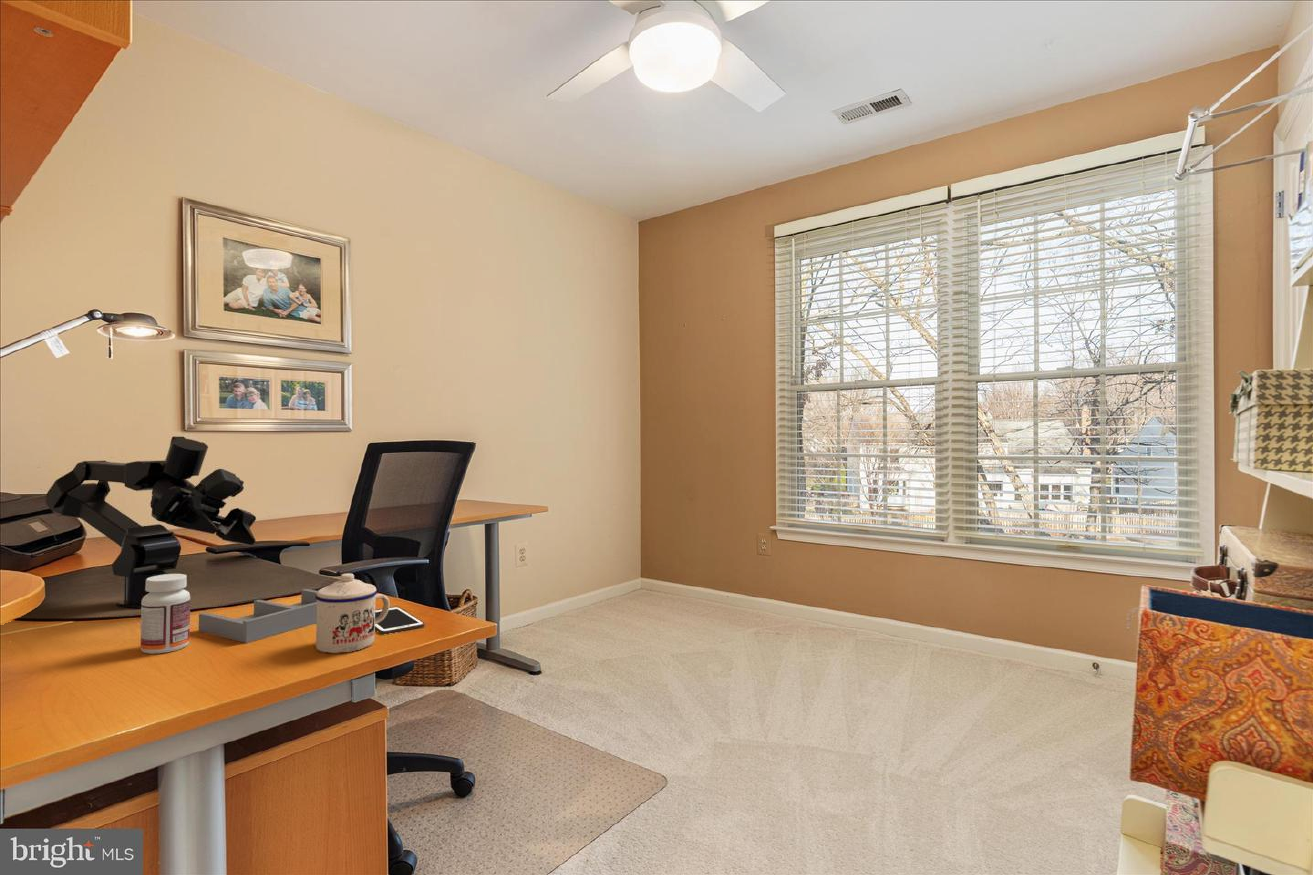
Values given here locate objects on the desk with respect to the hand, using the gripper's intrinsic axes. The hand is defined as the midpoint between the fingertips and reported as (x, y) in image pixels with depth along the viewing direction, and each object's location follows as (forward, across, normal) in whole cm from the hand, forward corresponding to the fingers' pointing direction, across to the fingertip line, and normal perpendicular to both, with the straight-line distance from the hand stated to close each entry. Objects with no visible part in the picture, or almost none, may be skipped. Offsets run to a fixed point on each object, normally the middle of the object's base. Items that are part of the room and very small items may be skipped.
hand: (235, 537), depth 114 cm
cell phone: (+30, +11, -1) cm, 32 cm away
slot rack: (+14, +6, +8) cm, 17 cm away
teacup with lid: (+33, 0, +2) cm, 33 cm away
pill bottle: (+11, -8, +17) cm, 22 cm away
